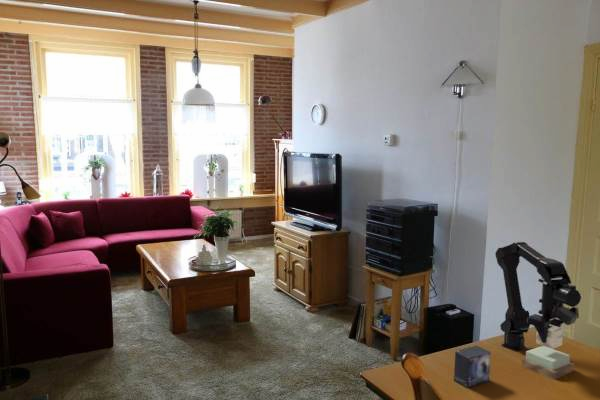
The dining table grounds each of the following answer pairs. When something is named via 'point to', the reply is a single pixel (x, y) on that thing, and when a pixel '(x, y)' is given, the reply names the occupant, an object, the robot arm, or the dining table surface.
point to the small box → (472, 366)
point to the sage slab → (547, 357)
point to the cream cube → (552, 337)
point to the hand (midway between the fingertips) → (549, 340)
